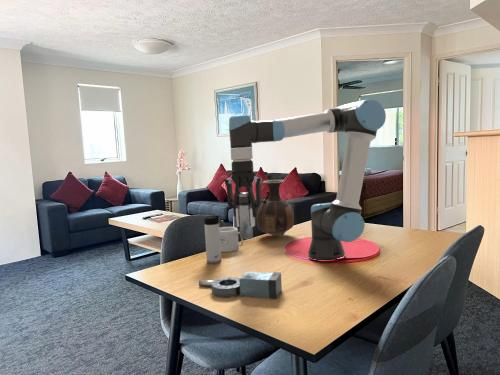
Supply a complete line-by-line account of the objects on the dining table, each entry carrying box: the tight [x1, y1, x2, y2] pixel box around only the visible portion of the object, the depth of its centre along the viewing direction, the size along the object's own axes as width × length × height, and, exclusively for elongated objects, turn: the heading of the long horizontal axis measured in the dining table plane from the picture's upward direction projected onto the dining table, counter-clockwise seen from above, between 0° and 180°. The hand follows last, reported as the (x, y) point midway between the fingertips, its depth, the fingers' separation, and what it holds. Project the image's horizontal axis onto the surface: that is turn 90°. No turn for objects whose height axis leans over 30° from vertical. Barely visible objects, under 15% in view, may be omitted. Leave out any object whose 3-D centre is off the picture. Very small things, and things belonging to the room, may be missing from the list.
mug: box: [219, 226, 244, 253], centre depth 179 cm, size 14×11×10 cm
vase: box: [256, 179, 295, 238], centre depth 198 cm, size 23×19×30 cm
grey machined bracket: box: [198, 270, 283, 300], centre depth 127 cm, size 30×11×6 cm, turn 72°
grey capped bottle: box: [238, 191, 254, 240], centre depth 133 cm, size 5×5×16 cm
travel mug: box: [203, 215, 222, 265], centre depth 161 cm, size 6×7×20 cm
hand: (246, 225), depth 134 cm, fingers closed on grey capped bottle, 4 cm apart
